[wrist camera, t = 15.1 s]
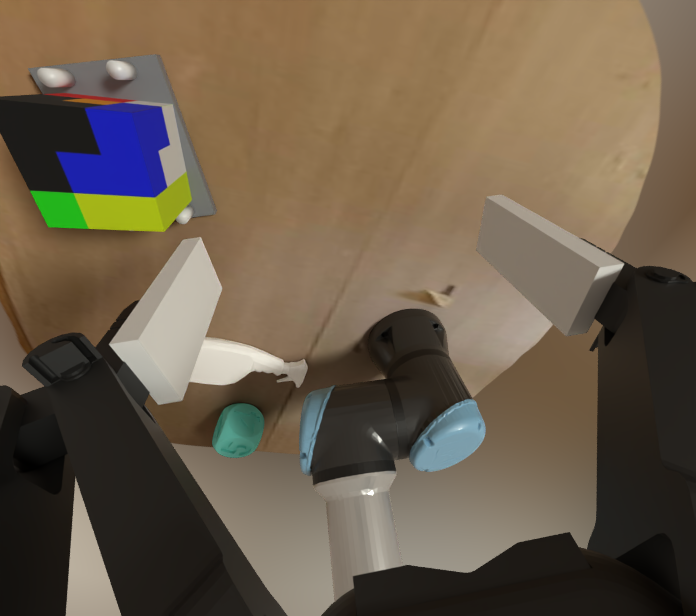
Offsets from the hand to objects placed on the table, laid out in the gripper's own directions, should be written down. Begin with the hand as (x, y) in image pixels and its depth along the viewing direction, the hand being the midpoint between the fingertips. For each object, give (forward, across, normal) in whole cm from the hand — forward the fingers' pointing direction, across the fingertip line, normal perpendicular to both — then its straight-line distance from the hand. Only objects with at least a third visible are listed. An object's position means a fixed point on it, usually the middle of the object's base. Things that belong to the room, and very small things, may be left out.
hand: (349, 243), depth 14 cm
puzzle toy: (+28, +20, -2) cm, 34 cm away
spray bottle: (+29, +20, +35) cm, 50 cm away
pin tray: (+29, +20, -2) cm, 35 cm away
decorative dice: (+29, +25, +51) cm, 64 cm away
